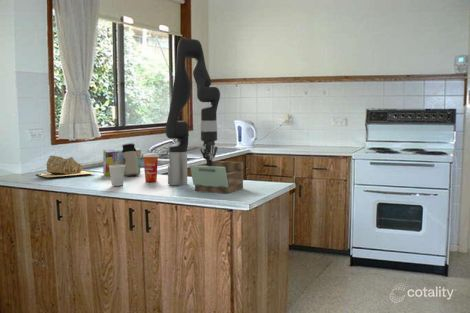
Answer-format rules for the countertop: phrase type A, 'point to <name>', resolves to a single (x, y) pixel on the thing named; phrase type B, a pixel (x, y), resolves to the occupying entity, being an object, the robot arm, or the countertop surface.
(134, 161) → the travel mug
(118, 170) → the dixie cup
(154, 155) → the coffee cup
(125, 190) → the countertop surface
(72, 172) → the bread loaf on board
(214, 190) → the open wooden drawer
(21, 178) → the countertop surface
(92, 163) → the countertop surface
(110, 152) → the snack box
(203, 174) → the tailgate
